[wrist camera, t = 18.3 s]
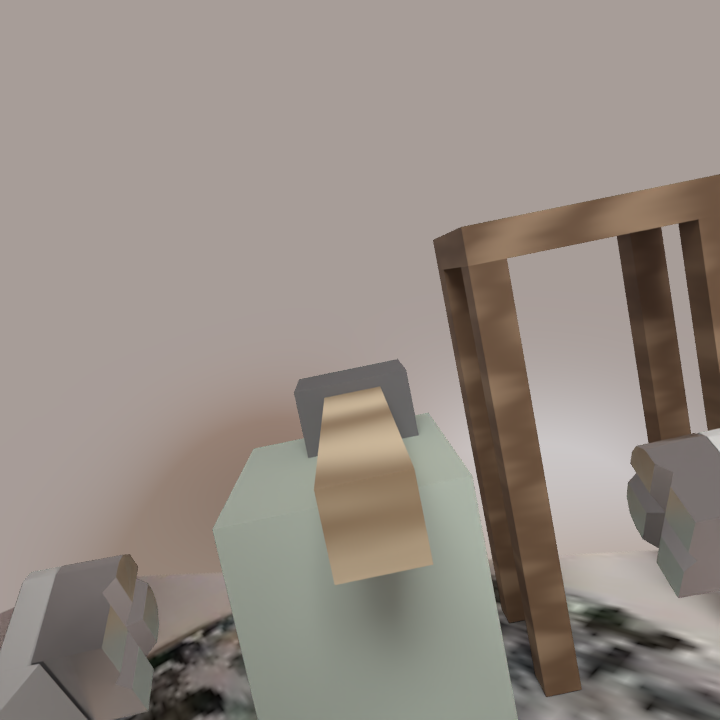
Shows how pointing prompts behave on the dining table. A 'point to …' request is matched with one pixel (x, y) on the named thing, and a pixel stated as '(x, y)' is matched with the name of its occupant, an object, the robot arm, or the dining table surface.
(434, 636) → the pale green block
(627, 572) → the dining table surface
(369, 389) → the mallet
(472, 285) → the plant stand
